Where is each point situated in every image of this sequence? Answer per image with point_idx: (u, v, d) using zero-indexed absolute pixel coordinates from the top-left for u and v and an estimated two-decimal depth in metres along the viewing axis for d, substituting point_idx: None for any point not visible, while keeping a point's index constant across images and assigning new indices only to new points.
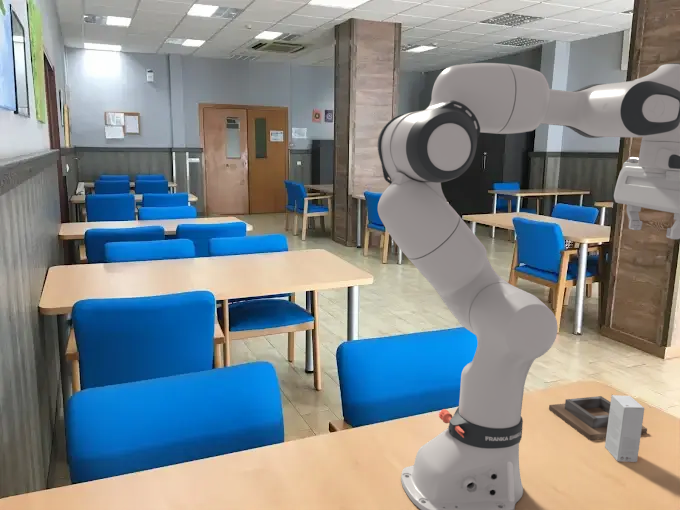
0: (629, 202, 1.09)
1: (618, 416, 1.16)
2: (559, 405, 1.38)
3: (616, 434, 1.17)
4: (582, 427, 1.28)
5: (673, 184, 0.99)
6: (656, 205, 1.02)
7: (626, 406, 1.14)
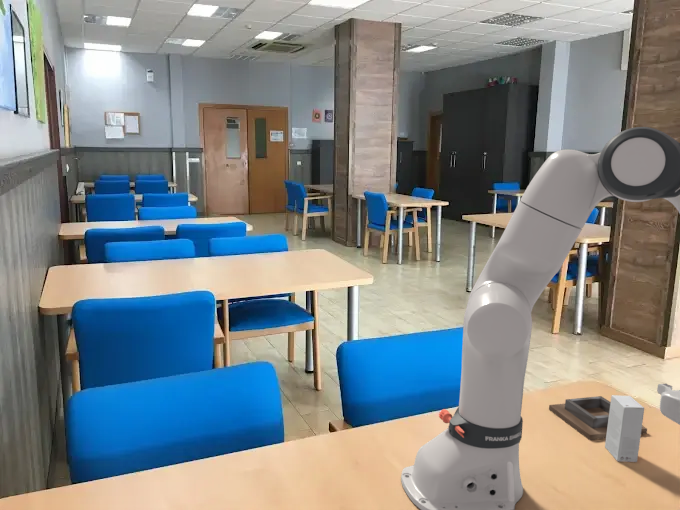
0: None
1: (618, 416, 1.16)
2: (559, 405, 1.38)
3: (616, 434, 1.17)
4: (582, 427, 1.28)
5: None
6: None
7: (626, 406, 1.14)
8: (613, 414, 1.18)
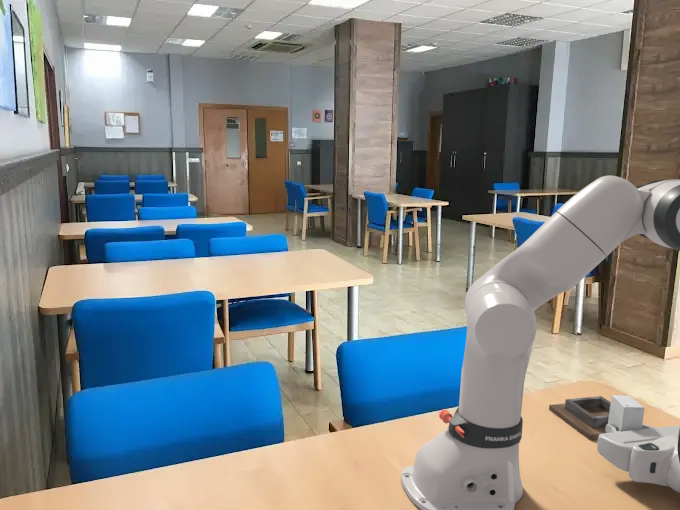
0: (662, 427, 1.15)
1: (618, 416, 1.16)
2: (559, 405, 1.38)
3: None
4: (582, 427, 1.28)
5: (638, 444, 1.08)
6: (635, 431, 1.13)
7: (626, 406, 1.14)
8: (613, 414, 1.18)
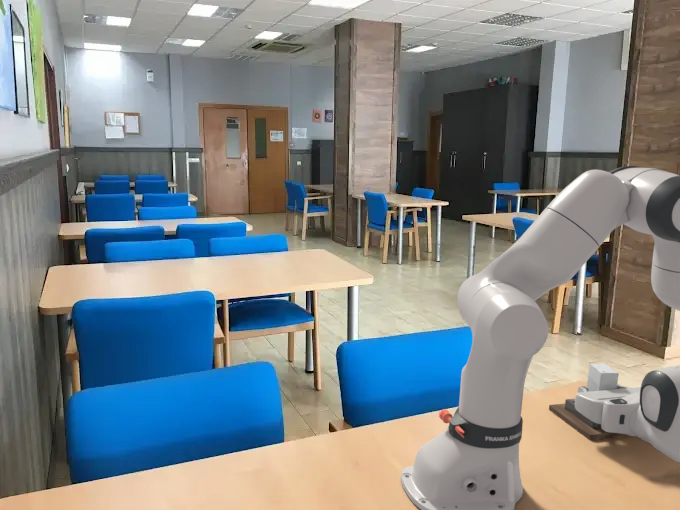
0: (633, 388, 1.29)
1: (596, 382, 1.30)
2: (559, 405, 1.38)
3: None
4: (582, 427, 1.28)
5: None
6: (608, 390, 1.27)
7: (603, 372, 1.29)
8: (591, 380, 1.33)
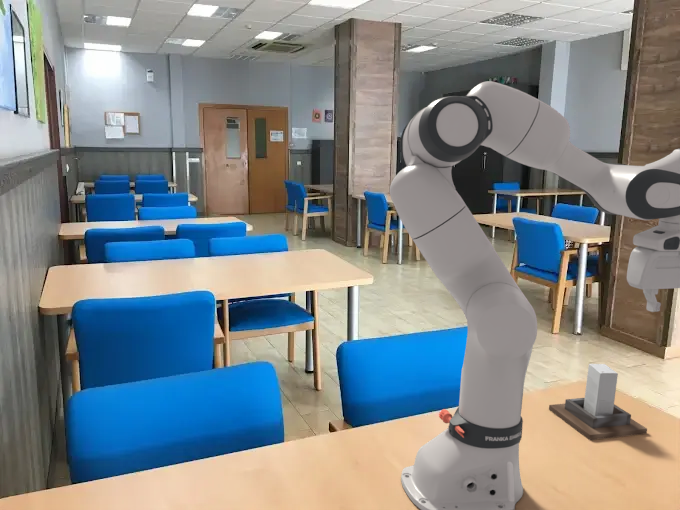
0: None
1: (595, 382, 1.30)
2: (559, 405, 1.38)
3: (593, 398, 1.31)
4: (582, 427, 1.28)
5: None
6: None
7: (602, 372, 1.29)
8: (590, 380, 1.33)
